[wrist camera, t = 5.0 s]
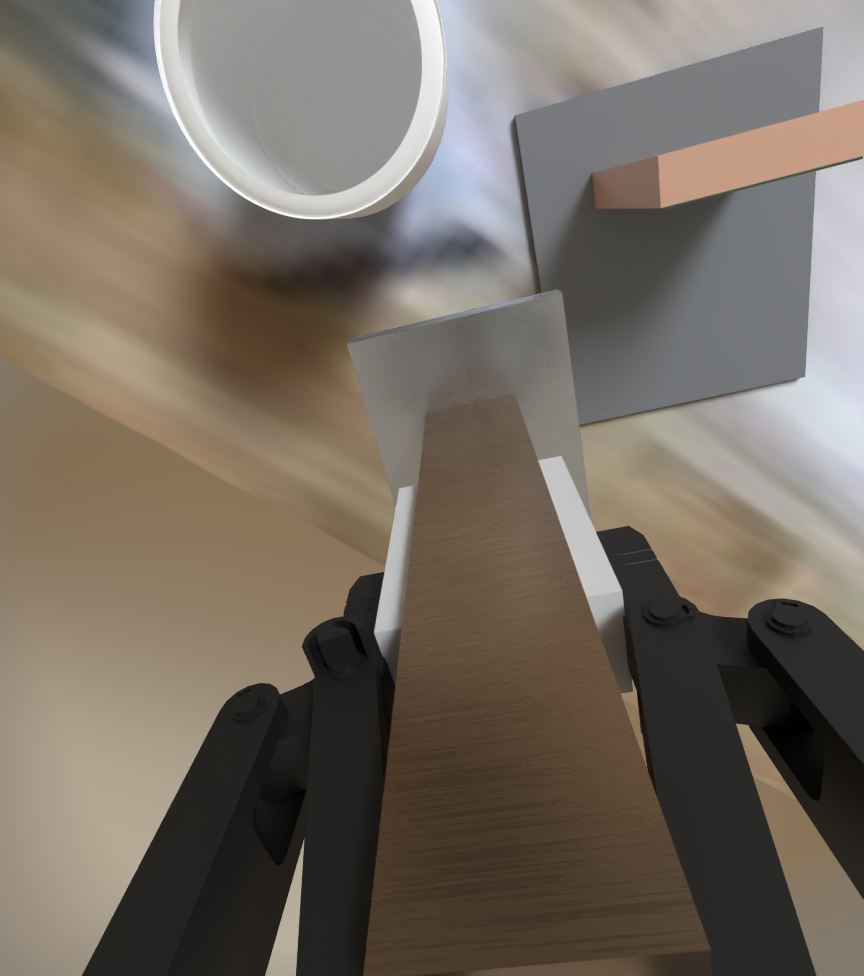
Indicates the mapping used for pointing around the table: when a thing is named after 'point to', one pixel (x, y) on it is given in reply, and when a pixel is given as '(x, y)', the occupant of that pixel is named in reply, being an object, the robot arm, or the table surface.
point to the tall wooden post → (506, 682)
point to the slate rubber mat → (675, 235)
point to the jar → (308, 97)
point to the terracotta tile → (735, 161)
